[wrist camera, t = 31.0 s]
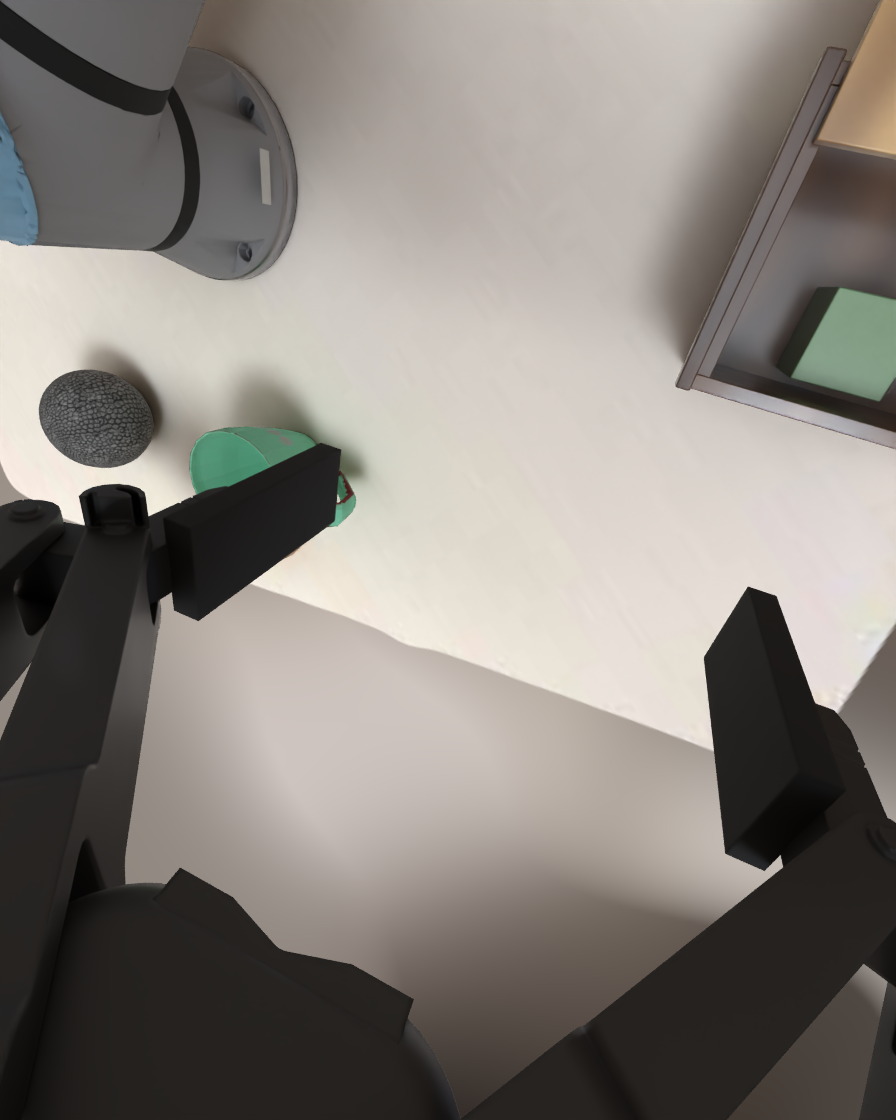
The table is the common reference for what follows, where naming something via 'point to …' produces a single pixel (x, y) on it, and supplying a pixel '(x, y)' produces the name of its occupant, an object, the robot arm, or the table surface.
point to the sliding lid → (867, 93)
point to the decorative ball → (96, 418)
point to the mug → (253, 459)
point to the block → (845, 343)
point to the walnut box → (802, 272)
